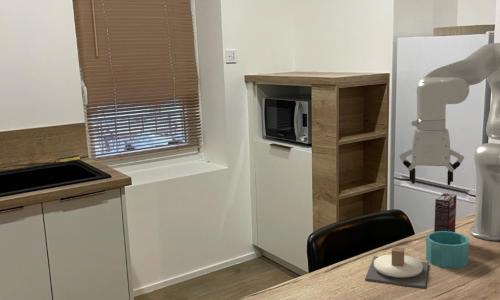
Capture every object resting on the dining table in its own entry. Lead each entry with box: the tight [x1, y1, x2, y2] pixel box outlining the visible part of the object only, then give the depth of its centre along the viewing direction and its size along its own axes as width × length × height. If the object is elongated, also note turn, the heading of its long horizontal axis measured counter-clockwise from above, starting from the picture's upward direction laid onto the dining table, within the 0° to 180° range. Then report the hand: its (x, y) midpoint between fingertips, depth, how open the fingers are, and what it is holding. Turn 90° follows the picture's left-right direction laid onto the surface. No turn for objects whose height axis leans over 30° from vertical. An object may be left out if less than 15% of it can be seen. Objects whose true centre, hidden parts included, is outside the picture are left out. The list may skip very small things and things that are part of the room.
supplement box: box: [433, 192, 457, 233], centre depth 160 cm, size 9×5×16 cm, turn 143°
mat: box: [364, 256, 429, 289], centre depth 142 cm, size 16×16×1 cm
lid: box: [374, 246, 423, 277], centre depth 141 cm, size 14×14×6 cm
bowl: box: [425, 231, 470, 269], centre depth 148 cm, size 12×12×7 cm
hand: (431, 183), depth 140 cm, fingers open, 9 cm apart
